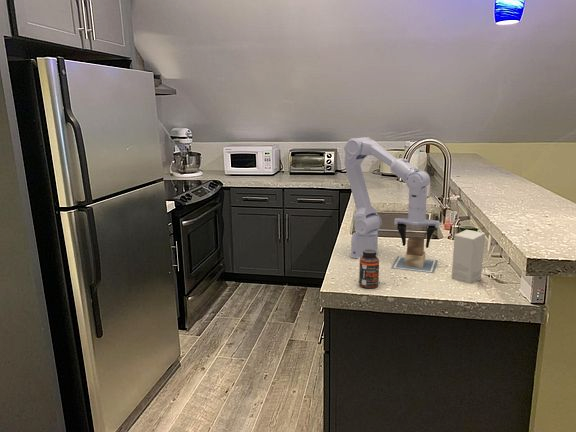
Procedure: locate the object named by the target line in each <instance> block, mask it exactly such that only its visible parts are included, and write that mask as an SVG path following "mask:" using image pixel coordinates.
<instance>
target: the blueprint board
mask: <svg viewBox="0 0 576 432" xmlns="http://www.w3.org/2000/svg"><path fill="white" fill-rule="evenodd" d="M438 261H439V260H438V259H431V258H425V263H424V266H423V268H419V267H410V266H405V256H402V255H399V256H396V259H395V260H394V262H393V263H392V265H391V267H390V270H392V269H393V270H402V271H411V272H419V273H427V274H435V271H436V269H437V264H438Z"/></svg>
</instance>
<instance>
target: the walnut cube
mask: <svg viewBox="0 0 576 432" xmlns="http://www.w3.org/2000/svg"><path fill="white" fill-rule="evenodd" d="M424 250H425V237H417V236H409V237H408V238H407V240H406V252H407V255H415V256H422V255H423V252H424Z"/></svg>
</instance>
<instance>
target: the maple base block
mask: <svg viewBox="0 0 576 432" xmlns="http://www.w3.org/2000/svg"><path fill="white" fill-rule="evenodd" d="M404 257H405V266H410V267H419V268H423V266H424V263H425V259H426V251H424V252H423V255H422V256H415V255H407V251H406V252H405V254H404Z"/></svg>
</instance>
